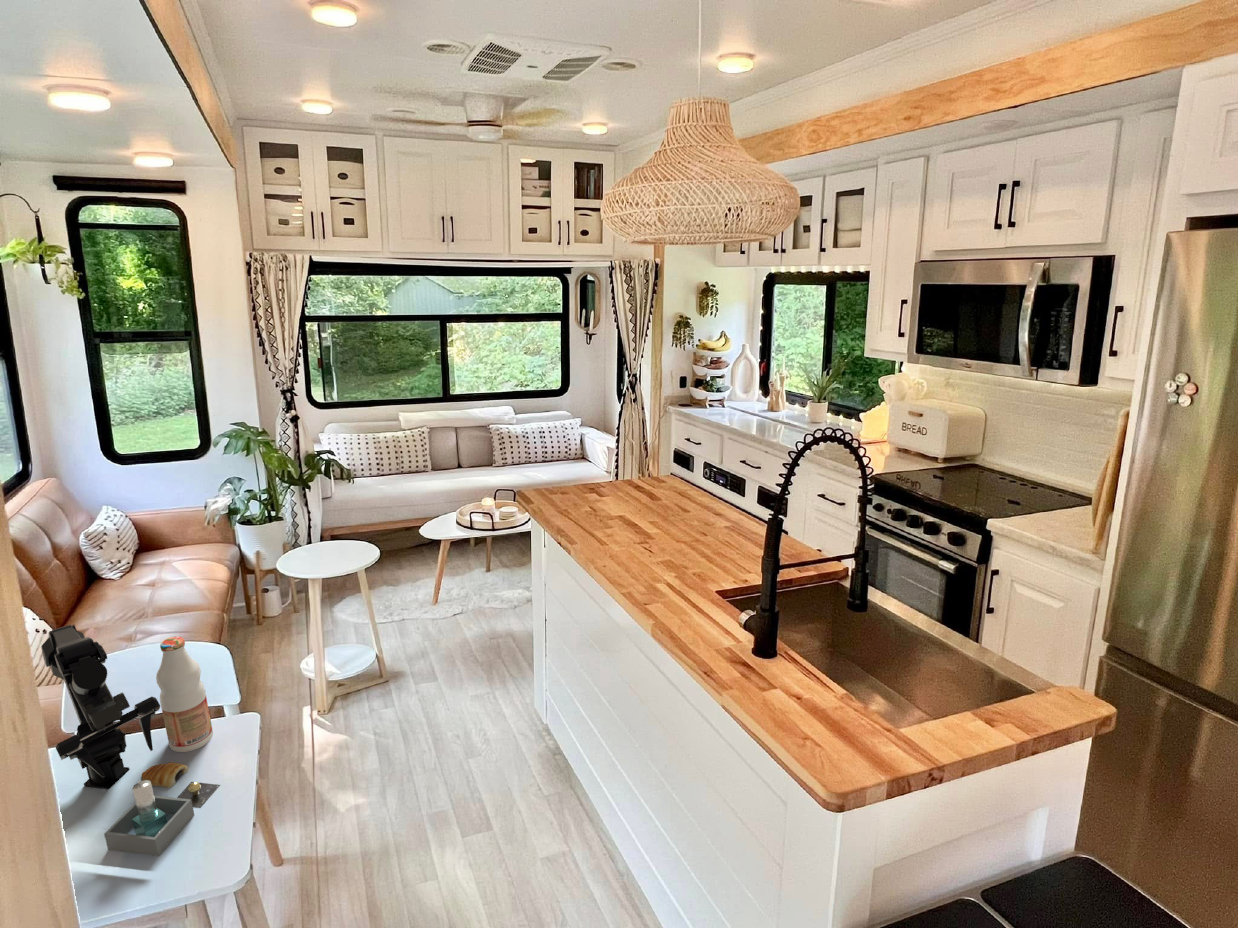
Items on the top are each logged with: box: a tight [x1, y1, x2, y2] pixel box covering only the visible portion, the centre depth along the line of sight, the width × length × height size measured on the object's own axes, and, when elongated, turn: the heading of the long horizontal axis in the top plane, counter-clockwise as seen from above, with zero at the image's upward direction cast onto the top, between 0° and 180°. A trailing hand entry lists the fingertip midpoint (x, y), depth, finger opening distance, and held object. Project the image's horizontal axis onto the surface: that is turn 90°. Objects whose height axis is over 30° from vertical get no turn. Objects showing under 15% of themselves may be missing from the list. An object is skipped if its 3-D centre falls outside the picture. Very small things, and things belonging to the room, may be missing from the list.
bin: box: [103, 795, 195, 857], centre depth 158 cm, size 11×11×5 cm
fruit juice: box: [155, 636, 214, 753], centre depth 182 cm, size 9×9×28 cm
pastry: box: [141, 761, 189, 789], centre depth 174 cm, size 9×7×4 cm
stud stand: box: [176, 781, 221, 809], centre depth 169 cm, size 7×7×4 cm
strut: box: [132, 780, 168, 837], centre depth 157 cm, size 4×4×12 cm
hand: (128, 763), depth 160 cm, fingers open, 9 cm apart
